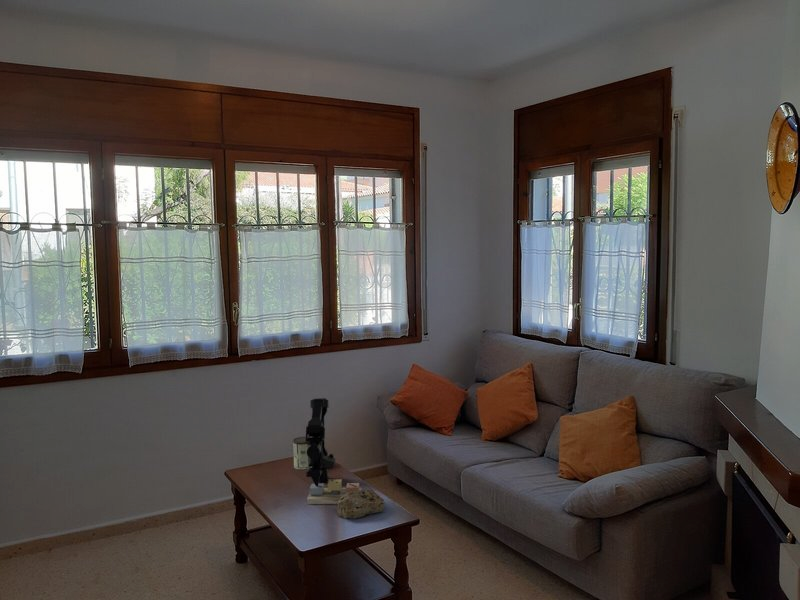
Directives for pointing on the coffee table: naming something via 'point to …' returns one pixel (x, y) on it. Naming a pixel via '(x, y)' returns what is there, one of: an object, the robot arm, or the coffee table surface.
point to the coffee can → (301, 453)
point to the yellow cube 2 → (334, 486)
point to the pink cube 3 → (352, 487)
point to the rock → (359, 504)
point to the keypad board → (326, 497)
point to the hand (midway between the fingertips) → (316, 485)
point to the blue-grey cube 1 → (317, 489)
